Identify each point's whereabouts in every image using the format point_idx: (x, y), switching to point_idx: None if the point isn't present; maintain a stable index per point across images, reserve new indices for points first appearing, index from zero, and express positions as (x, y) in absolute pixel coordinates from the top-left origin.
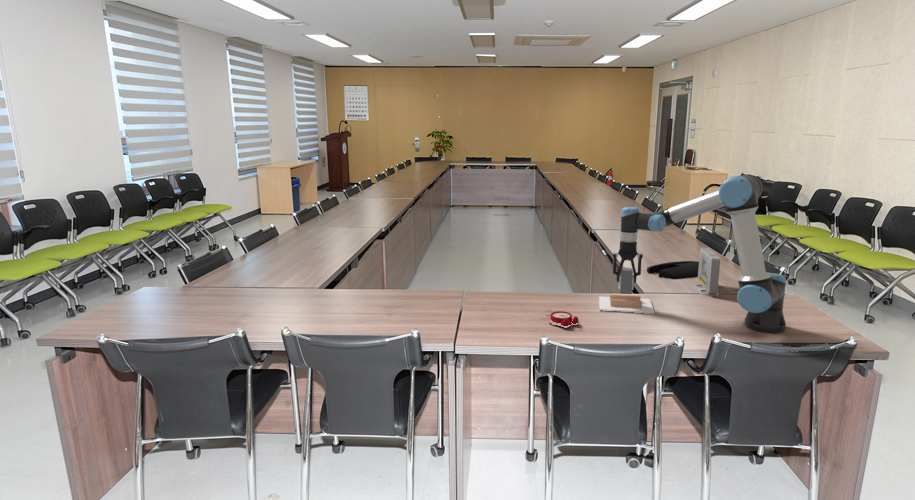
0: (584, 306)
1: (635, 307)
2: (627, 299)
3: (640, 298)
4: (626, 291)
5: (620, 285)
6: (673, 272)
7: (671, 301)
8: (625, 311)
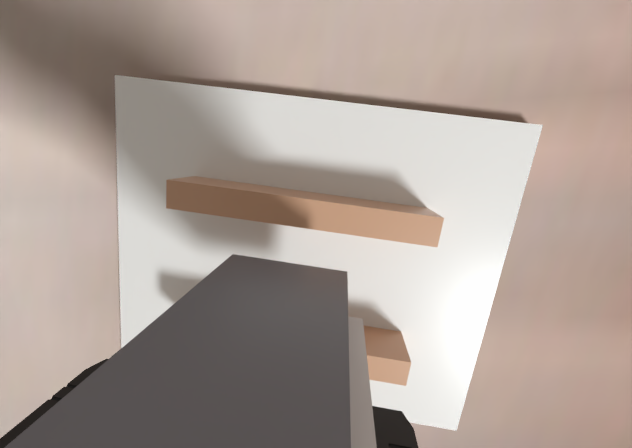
0: (621, 243)
1: (238, 182)
2: None
3: None
4: (279, 271)
5: None
6: None
7: (10, 351)
8: (328, 101)
